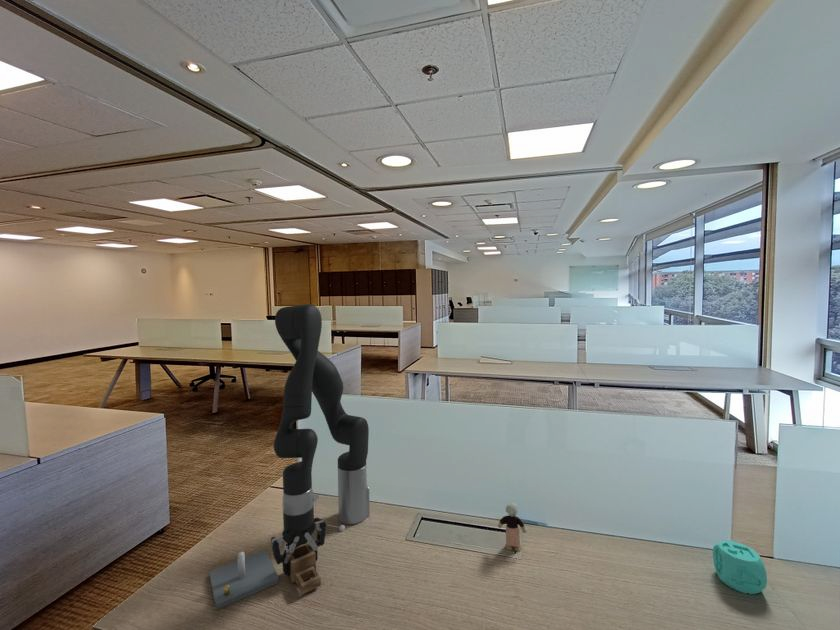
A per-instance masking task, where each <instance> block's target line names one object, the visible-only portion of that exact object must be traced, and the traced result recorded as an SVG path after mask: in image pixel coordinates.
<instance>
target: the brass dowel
mask: <svg viewBox="0 0 840 630" xmlns="http://www.w3.org/2000/svg"><path fill="white" fill-rule="evenodd" d="M229 594H230V584H226V585H225V586H224V596H228V595H229Z"/></svg>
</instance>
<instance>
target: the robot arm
mask: <svg viewBox="0 0 840 630" xmlns="http://www.w3.org/2000/svg"><path fill="white" fill-rule="evenodd" d="M322 323H323V319H322V314H321V312H320V310H319V308H318V307H317V306H315V305H314V304H300V305H291V306H289V305H288V306H285V307H281V308H280V309H278V310H277V311H276V314H275V316H274V324H275V328H276V331H277V334H278V335H279V337H280V339H281V340H282V342H283V343H284V344H285V346H286V348H288V350H289V352H290V354H291V355H292V356H293V358H294V359H295V362H294V365H293V367H292V369H291V370H290V372H289V374H288V376H287V379H286V381H285V384H284V389H283V403H282V406H283V407H282V415H281V419H280V423H279V426H278V429H277V433H276V434H275V435H276V436H275V439H274V442H273V451H274V453H275V455H276V457H278V458H280V459H296V458H297V459H301V461H297V462H295V463H290V464H288V465H287V466H286V467H285V468H284V469H283V471H282V487H283V488H282V489H283V491H282V493H283V494H282V516H283V517H282V519H283V523H282V524H283V530H282V533H281V535H279V536H277V537H275V536H272V537H271V539H270V544H271V548H272V553H273V558H274V560H275V562H276V565H280V564H281V563H282V572H283V574H284V575H285V576H286V578H287V577H289V576H290V562H289V559H290V557H291V554H293V552H294V549H295V548H296V547H298V546H300V545H303V544H306V543H307V542H308V543H309V544H310V546H311V547H312V549H313V550H314V552H315V553H316V562H317V561H318V559H319V558H318V555H319V554H318V550H319V549H318V548H319V547H320V546H322V547H323V545H324V544H325V541H326V540H325V539H326V529H327V523H326V522H325V520H324V519H323V518H320V519H319V521H318V522H314V518H315V513H314V512H315V509H314V504H315V503H314V502H315V501H314V498H313V495H314V493H313V491H314V490H313V477H312V476H313V475H312V469H313V463H314V457H315V455H316V450H317V446H318V440H319V437H318V435H317V433H316V432H315V430H314V429H311V428H292V427H293V424H294V423H296V422H297V421H301V420H305V419H308V418H310V416H311V414H312V404H313V403H312V402H313V401H312V400H313V399H312V397H313V396H314V397H315V399H316V401H317V403H318V405H319V407H320V410H321V411H322V413H323V416H324V418H325V420H326V424H327V427H328V429H329V433H330V435H331V437H332V439H333V440H334V441H335V442H336V443H338V444H341V445H346V446H349V447H348V448H349V449H348V451H346V452H343V453H342V454H340V455H339V456H338V458H337V490H338V491H337V492H338V493H337V495H338V497H337V499H338V511H337V513H338V520H339V521H340V522H341V523H342V524H343V525H355V524H359V523H361V522H363V521H365V520H366V518H367V517H369V516H370V513H371V512H370V511H371V509H370V487H369V486H368V484H367V483H368V481H367V477H368V476H367V459H368V454H369V435H370V434H369V431H370V430H369V422H368V421H367V420H366V418H364V417H362V416H357V415H350V414H348V413H346V411H345V410H344V408H343V405H342V402H341V400H342V396H343V391H344V382H343V380H342V377H341V375H340V372H339V371H338V369H337V367H336V365H335V364H334V363H333V361H331V360H330V358H328V357H327V356H325V355H324V354H323V353H322V352H320V351H319V346H320V339H321V334H322V327H323V326H322V325H323V324H322ZM312 395H313V396H312ZM315 530H317V531H316V532H317V534H316V540H314V539H313V537H312V535H313V534H314V533H315ZM283 541H284V542H285V544H284V546H283V547H284V548H283V551H282V554H281V550H280V547H281V546H282V542H283Z"/></svg>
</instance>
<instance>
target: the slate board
mask: <svg viewBox="0 0 840 630" xmlns="http://www.w3.org/2000/svg"><path fill="white" fill-rule="evenodd" d="M208 573H209V574H208V575H209V577H208V578H209V581H210V586H211V591H212V596H213V601H214V605H215V606H214V607H215V610H216V611H218V610H219V609H223V608H225V607H226V606H228V605H229V606H230V605H231V604H234V603H235V602H238V601H241V600H242V599H246V598H247V597H250V596H252V595H254V594H256V593H258V592H261V591H263V590H265V589H267V588H270V587H272V586H274V585H277V584H279V583H280V578H279V575H278V572H277V571H276V568H275V566H274V563H273V562H272V559H271V557H270V555H269V553H268V551H267V549H266V550H262V551H260V552H258V553H254V554H251V555H250V556H247V557H246V554H245V551H240V552H238V553H237V560H236V561H234V562H231V563H228V564H225V565H224V566H221V567H218V568H216V569H213V570H211V571H209V572H208ZM226 584H230V594H229V595H228V596H224V586H225V585H226Z"/></svg>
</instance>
